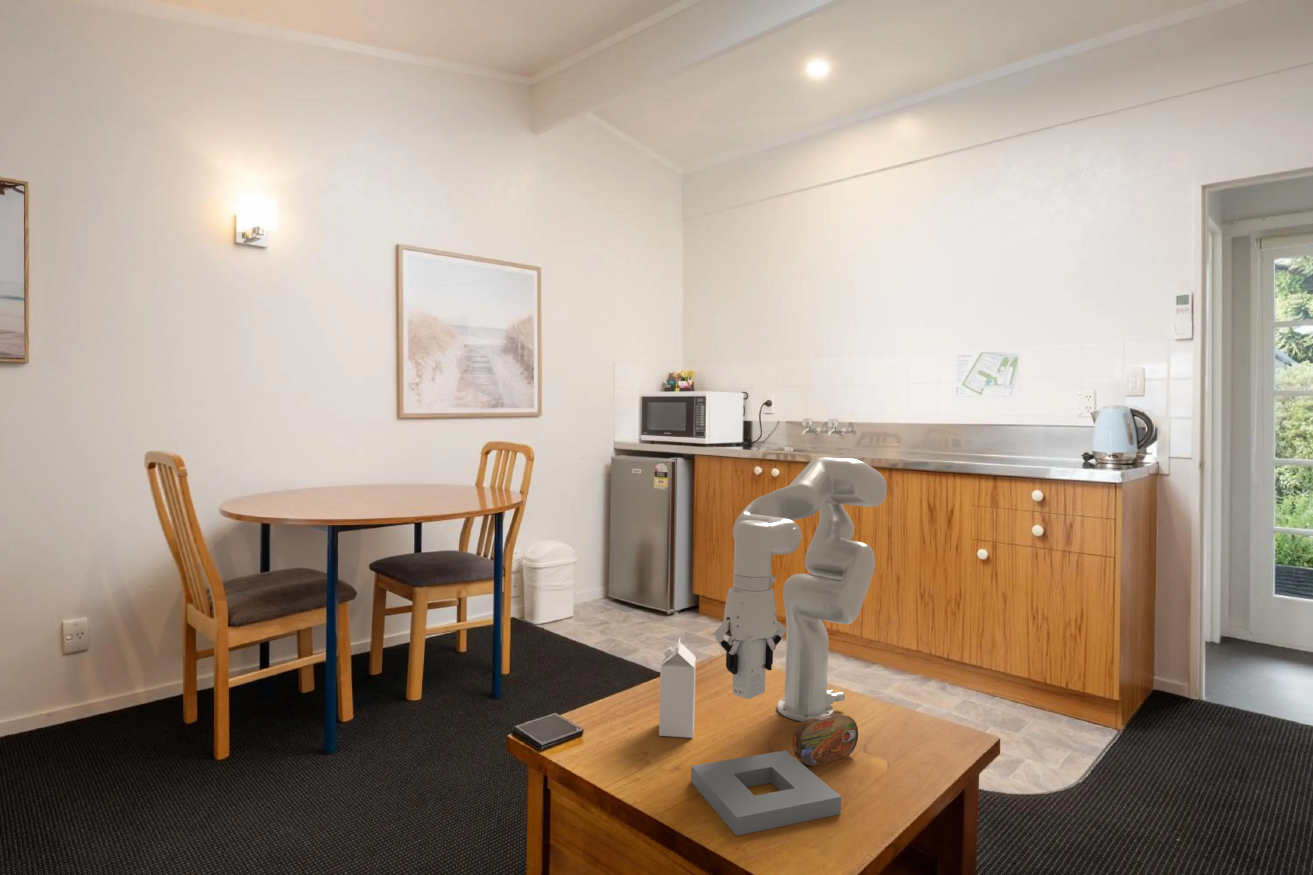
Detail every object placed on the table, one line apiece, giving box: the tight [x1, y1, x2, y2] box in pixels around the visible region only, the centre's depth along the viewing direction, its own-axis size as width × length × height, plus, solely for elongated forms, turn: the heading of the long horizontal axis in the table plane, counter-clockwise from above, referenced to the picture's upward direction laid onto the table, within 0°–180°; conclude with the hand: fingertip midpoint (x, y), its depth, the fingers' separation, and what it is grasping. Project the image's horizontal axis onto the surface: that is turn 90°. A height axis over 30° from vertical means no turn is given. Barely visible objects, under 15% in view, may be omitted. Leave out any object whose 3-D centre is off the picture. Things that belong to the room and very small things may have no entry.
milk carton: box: [658, 637, 697, 739], centre depth 155 cm, size 7×7×19 cm
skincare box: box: [732, 637, 767, 700], centre depth 146 cm, size 6×4×12 cm
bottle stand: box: [690, 749, 842, 837], centre depth 128 cm, size 20×18×3 cm
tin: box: [792, 712, 859, 767], centre depth 144 cm, size 15×3×8 cm, turn 117°
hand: (749, 669), depth 146 cm, fingers closed on skincare box, 7 cm apart
